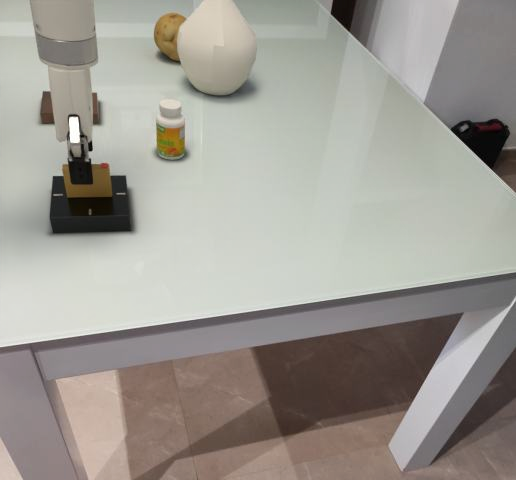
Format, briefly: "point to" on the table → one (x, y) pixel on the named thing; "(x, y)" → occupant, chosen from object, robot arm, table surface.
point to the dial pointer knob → (97, 189)
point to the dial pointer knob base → (90, 209)
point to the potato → (168, 34)
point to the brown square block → (47, 108)
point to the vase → (216, 47)
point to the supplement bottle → (170, 130)
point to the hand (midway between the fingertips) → (82, 166)
